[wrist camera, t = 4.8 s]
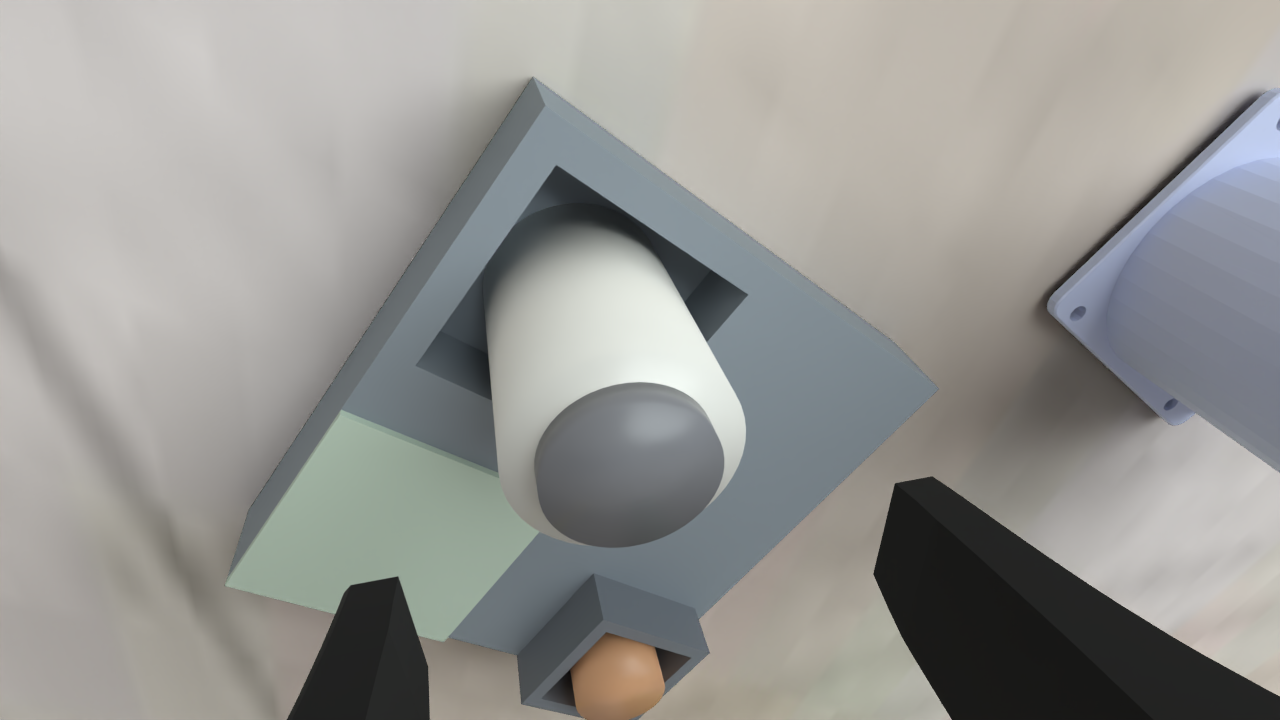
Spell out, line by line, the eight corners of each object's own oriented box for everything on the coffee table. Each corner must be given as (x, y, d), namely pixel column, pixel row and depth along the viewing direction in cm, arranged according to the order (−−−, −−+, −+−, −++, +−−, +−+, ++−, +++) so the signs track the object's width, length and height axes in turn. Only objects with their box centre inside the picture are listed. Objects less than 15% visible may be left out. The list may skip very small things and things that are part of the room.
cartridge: (694, 263, 18) (808, 438, 12) (592, 387, 19) (651, 595, 14) (550, 166, 16) (608, 325, 10) (447, 314, 17) (447, 525, 12)
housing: (894, 342, 22) (973, 424, 18) (616, 624, 26) (640, 730, 23) (532, 76, 15) (556, 129, 12) (248, 510, 20) (209, 634, 16)
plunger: (665, 621, 22) (682, 679, 21) (615, 670, 23) (628, 729, 22) (599, 599, 21) (612, 659, 19) (549, 652, 22) (557, 714, 20)
